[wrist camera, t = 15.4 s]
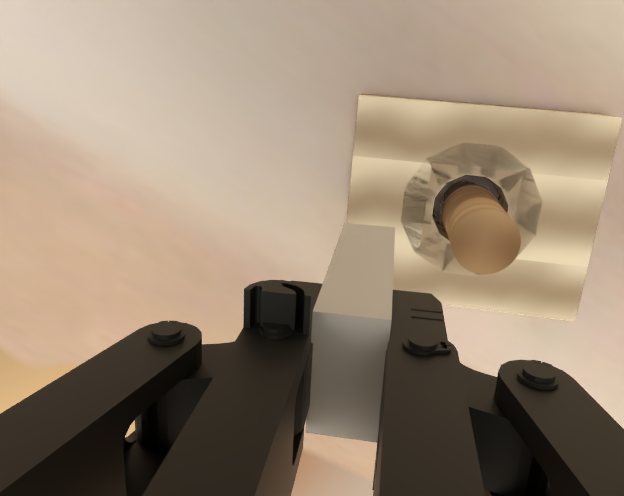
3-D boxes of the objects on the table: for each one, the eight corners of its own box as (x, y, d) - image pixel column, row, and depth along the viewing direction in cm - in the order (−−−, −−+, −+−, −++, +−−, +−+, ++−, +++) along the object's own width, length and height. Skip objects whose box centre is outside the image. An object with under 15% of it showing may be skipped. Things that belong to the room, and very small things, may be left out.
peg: (441, 172, 47) (455, 204, 35) (495, 178, 47) (528, 212, 35) (434, 223, 49) (445, 271, 36) (486, 229, 48) (515, 279, 36)
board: (362, 94, 47) (358, 95, 43) (603, 114, 44) (622, 117, 40) (344, 275, 51) (339, 291, 47) (561, 303, 49) (574, 321, 45)
